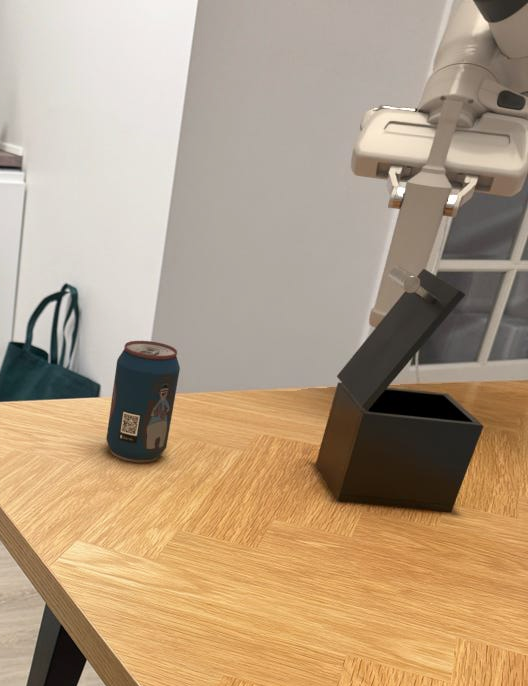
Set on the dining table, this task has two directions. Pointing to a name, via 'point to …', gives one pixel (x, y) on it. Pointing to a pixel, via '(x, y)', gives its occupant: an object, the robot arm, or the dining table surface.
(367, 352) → the bin lid
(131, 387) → the soda can
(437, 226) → the white round tapered piece
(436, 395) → the bin
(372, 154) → the robot arm
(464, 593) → the dining table surface
